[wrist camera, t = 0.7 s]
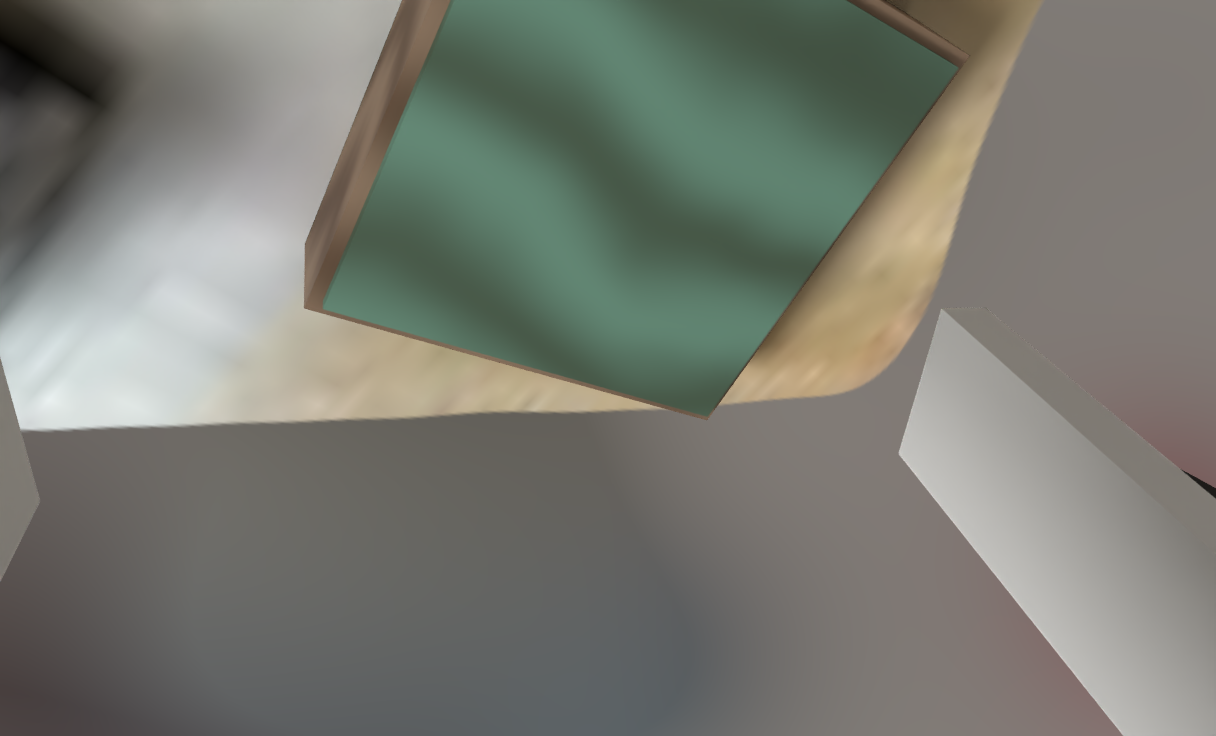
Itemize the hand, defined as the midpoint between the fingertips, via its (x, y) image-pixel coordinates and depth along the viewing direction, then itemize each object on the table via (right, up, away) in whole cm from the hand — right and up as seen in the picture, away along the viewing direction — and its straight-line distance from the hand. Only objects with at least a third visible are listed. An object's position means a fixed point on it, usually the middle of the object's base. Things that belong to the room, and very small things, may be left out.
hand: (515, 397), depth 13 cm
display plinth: (+1, +10, +23) cm, 25 cm away
